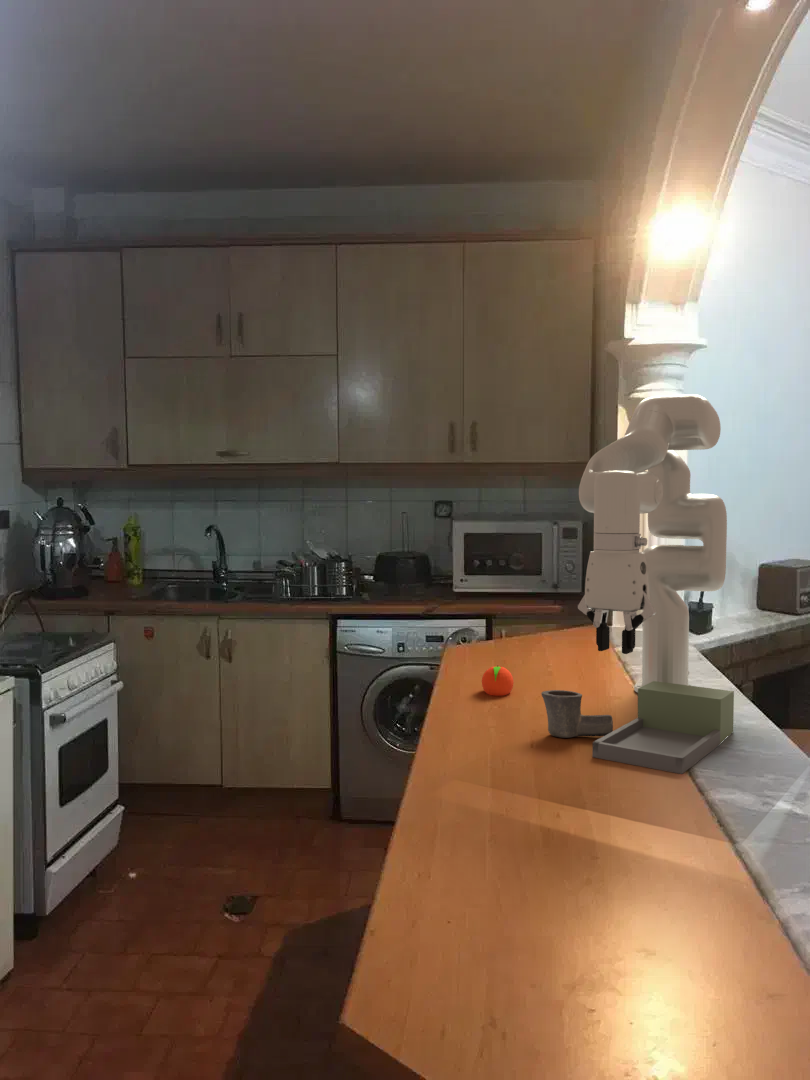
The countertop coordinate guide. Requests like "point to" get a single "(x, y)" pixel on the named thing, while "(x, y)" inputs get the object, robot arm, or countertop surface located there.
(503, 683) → the clementine
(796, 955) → the countertop surface
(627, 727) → the gray tray
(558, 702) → the pipe
